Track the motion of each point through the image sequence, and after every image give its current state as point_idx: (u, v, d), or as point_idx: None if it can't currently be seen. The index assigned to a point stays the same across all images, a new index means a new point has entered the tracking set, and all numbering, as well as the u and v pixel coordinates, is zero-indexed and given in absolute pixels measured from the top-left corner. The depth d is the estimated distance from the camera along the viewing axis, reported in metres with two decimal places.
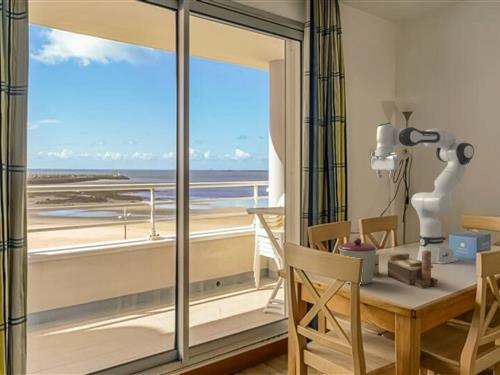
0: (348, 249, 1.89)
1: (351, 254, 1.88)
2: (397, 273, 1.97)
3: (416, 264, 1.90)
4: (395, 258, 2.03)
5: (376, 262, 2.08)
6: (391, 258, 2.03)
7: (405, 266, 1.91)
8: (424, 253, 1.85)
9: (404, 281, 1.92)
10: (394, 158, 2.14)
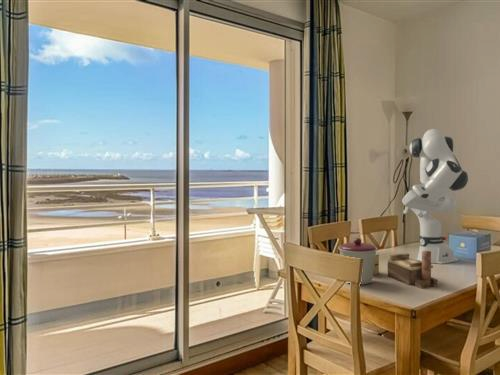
0: (348, 249, 1.89)
1: (351, 254, 1.88)
2: (397, 273, 1.97)
3: (416, 264, 1.90)
4: (395, 258, 2.03)
5: (376, 262, 2.08)
6: (391, 258, 2.03)
7: (405, 266, 1.91)
8: (424, 253, 1.85)
9: (404, 281, 1.92)
10: None
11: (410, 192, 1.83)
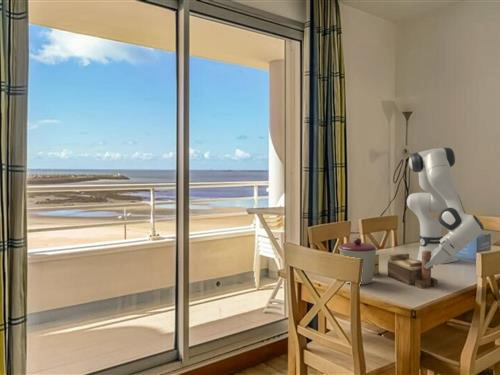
0: (348, 249, 1.89)
1: (351, 254, 1.88)
2: (397, 273, 1.97)
3: (416, 264, 1.90)
4: (395, 258, 2.03)
5: (376, 262, 2.08)
6: (391, 258, 2.03)
7: (405, 266, 1.91)
8: (424, 253, 1.85)
9: (404, 281, 1.92)
10: None
11: (441, 251, 1.75)
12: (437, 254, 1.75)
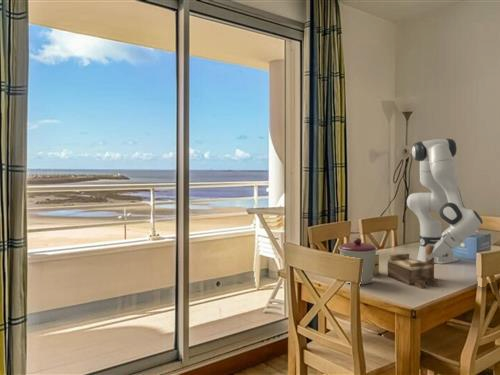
0: (348, 249, 1.89)
1: (351, 254, 1.88)
2: (397, 273, 1.97)
3: (416, 264, 1.90)
4: (395, 258, 2.03)
5: (376, 262, 2.08)
6: (391, 258, 2.03)
7: (405, 266, 1.91)
8: (427, 247, 1.97)
9: (404, 281, 1.92)
10: None
11: (443, 244, 1.87)
12: (439, 246, 1.87)
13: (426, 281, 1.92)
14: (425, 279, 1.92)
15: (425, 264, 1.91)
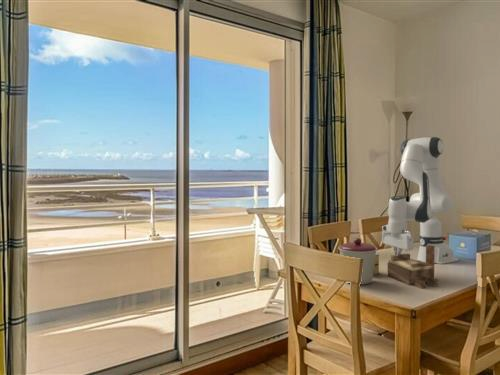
0: (348, 249, 1.89)
1: (351, 254, 1.88)
2: (397, 273, 1.97)
3: (417, 264, 1.89)
4: (396, 258, 2.02)
5: (376, 262, 2.08)
6: (392, 258, 2.02)
7: (406, 266, 1.91)
8: (428, 247, 1.97)
9: (404, 281, 1.92)
10: (408, 238, 1.96)
11: None
12: None
13: (426, 281, 1.92)
14: (425, 279, 1.92)
15: (426, 264, 1.91)
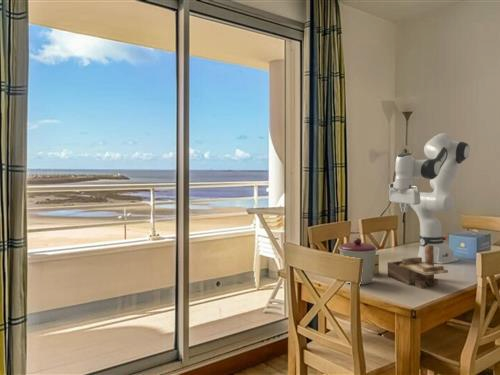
0: (348, 249, 1.89)
1: (351, 254, 1.88)
2: (397, 273, 1.97)
3: (430, 269, 1.81)
4: (407, 262, 1.94)
5: (376, 262, 2.08)
6: (403, 262, 1.94)
7: (418, 271, 1.83)
8: (427, 247, 1.97)
9: (404, 281, 1.92)
10: (415, 192, 2.01)
11: None
12: None
13: (426, 281, 1.92)
14: (425, 279, 1.92)
15: (439, 269, 1.83)
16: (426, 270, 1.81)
